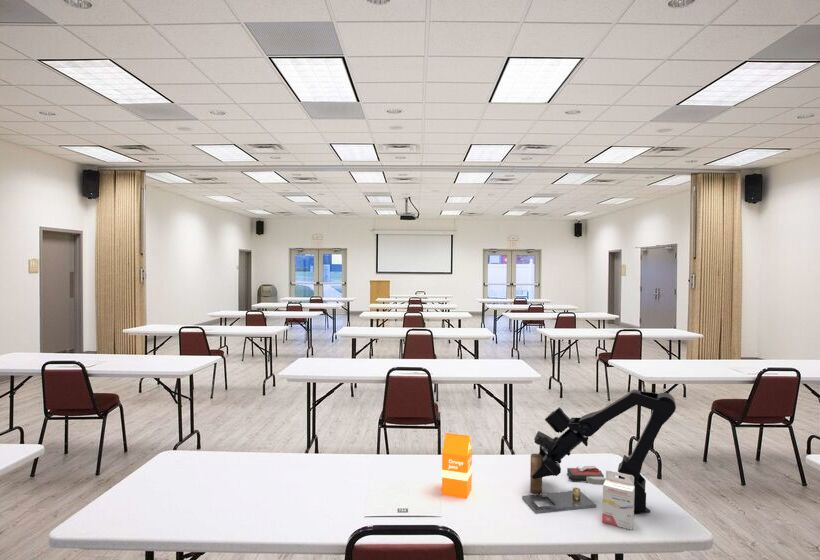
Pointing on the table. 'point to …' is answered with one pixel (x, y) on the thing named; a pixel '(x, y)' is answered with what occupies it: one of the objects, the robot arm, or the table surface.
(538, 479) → the peg
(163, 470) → the table surface
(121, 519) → the table surface
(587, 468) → the red gray flat block
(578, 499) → the plate
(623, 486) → the ink cartridge box
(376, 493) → the table surface
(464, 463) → the orange juice
